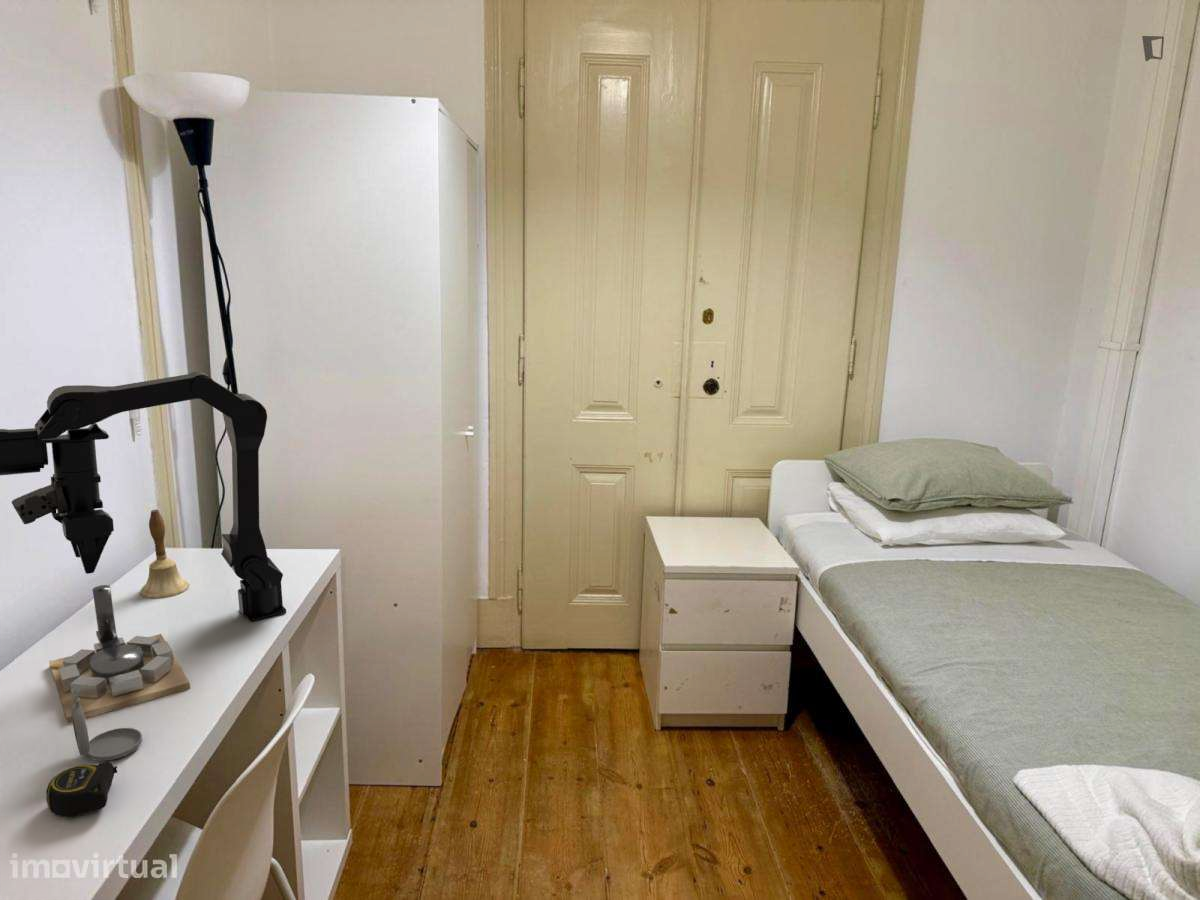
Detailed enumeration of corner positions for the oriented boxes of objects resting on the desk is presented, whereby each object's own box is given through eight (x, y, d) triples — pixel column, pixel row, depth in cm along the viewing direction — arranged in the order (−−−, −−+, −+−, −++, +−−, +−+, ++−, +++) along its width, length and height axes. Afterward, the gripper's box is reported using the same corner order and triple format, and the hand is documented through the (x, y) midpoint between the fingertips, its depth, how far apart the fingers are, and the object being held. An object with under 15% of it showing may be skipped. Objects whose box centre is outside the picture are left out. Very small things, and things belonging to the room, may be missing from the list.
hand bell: (175, 599, 159) (166, 518, 154) (131, 597, 159) (121, 516, 154) (197, 581, 167) (189, 503, 162) (155, 579, 167) (145, 502, 162)
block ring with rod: (156, 632, 143) (149, 570, 140) (182, 677, 130) (174, 609, 127) (53, 658, 134) (43, 592, 131) (69, 708, 121) (58, 637, 118)
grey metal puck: (139, 657, 136) (137, 640, 135) (148, 675, 131) (146, 658, 130) (88, 670, 132) (86, 652, 131) (96, 690, 126) (94, 671, 126)
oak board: (161, 639, 144) (160, 632, 143) (190, 688, 129) (189, 680, 129) (48, 667, 134) (47, 660, 134) (66, 723, 120) (64, 715, 119)
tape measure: (107, 817, 102) (103, 790, 101) (41, 828, 100) (36, 800, 99) (119, 782, 108) (116, 756, 107) (57, 791, 106) (53, 765, 105)
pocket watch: (154, 740, 117) (145, 674, 114) (100, 776, 109) (90, 707, 106) (108, 727, 119) (99, 663, 117) (53, 762, 111) (42, 693, 109)
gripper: (6, 463, 134) (17, 557, 137) (20, 488, 120) (31, 593, 123) (88, 455, 141) (96, 546, 144) (110, 478, 127) (118, 578, 130)
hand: (84, 564), depth 135 cm, fingers open, 9 cm apart
